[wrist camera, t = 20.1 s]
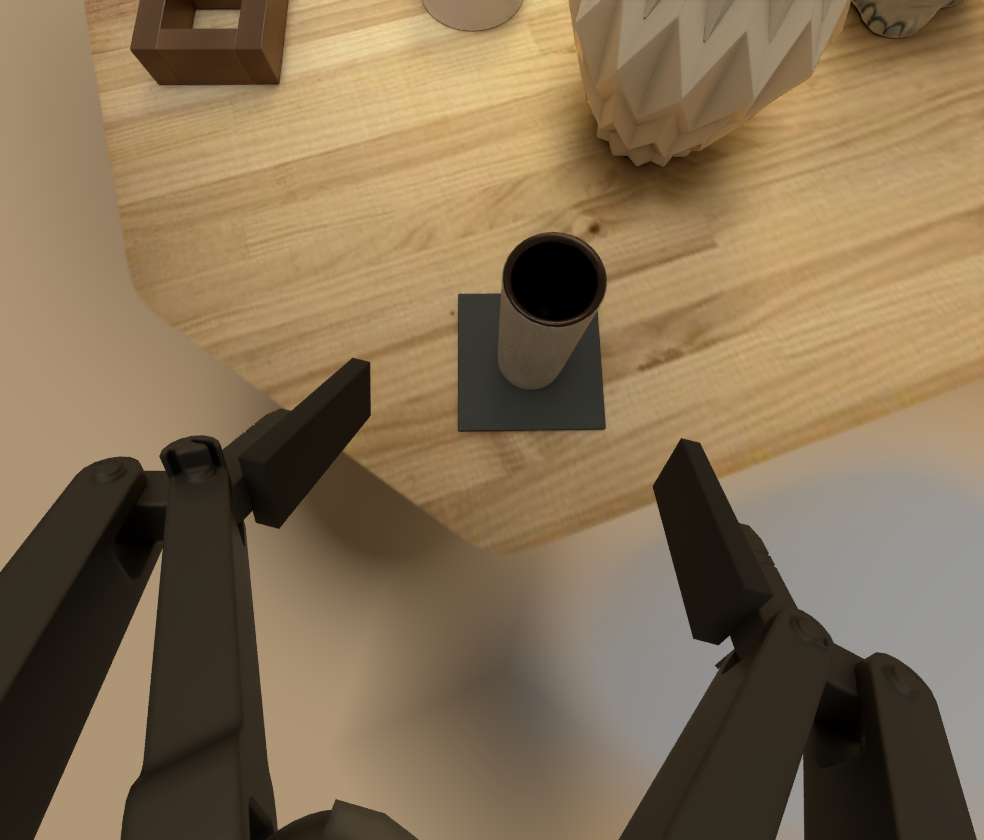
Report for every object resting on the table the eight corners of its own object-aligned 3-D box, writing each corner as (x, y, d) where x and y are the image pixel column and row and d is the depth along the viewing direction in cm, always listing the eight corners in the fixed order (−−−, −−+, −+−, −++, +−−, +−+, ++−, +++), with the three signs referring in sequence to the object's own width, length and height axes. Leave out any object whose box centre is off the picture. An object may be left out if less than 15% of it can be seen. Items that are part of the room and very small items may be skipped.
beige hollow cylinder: (490, 337, 26) (490, 242, 16) (551, 322, 27) (590, 220, 17) (506, 397, 26) (518, 338, 16) (570, 382, 26) (621, 313, 16)
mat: (458, 431, 26) (457, 430, 25) (458, 296, 27) (458, 293, 27) (604, 429, 26) (605, 428, 25) (594, 295, 28) (596, 292, 27)
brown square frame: (158, 84, 31) (129, 49, 28) (174, -9, 33) (149, -50, 30) (279, 84, 31) (261, 49, 28) (289, -10, 33) (273, -50, 30)
